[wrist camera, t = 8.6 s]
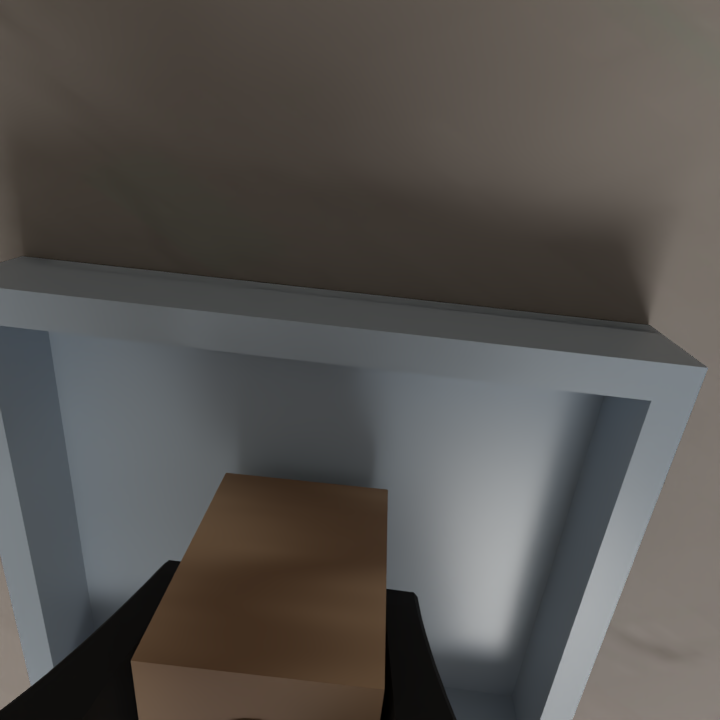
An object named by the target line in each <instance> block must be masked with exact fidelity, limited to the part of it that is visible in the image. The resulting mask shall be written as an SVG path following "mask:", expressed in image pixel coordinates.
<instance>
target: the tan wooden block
mask: <svg viewBox="0 0 720 720" xmlns="http://www.w3.org/2000/svg"><path fill="white" fill-rule="evenodd" d="M387 515H388V490H387V489H377V488H368V487H358V486H349V485H339V484H330V483H320V482H310V481H301V480H291V479H282V478H272V477H263V476H253V475H243V474H234V473H225V475H224V477H223V479H222V481H221V483H220V485H219V487H218V489H217V491H216V493H215V495H214V497H213V499H212V501H211V503H210V505H209V507H208V509H207V511H206V513H205V515H204V517H203V519H202V521H201V523H200V525H199V527H198V529H197V531H196V533H195V535H194V537H193V539H192V541H191V543H190V545H189V547H188V548H187V550H186V552H185V554H184V556H183V558H182V560H181V562H180V564H179V566H178V568H177V570H176V572H175V574H174V576H173V578H172V580H171V582H170V584H169V586H168V588H167V590H166V592H165V594H164V596H163V598H162V600H161V602H160V604H159V606H158V608H157V610H156V612H155V614H154V616H153V618H152V620H151V622H150V624H149V625H148V627H147V629H146V631H145V633H144V635H143V637H142V639H141V641H140V643H139V645H138V647H137V649H136V651H135V653H134V655H133V657H132V659H131V667H132V674H133V682H134V689H135V696H136V704H137V711H138V718H139V720H380V717H381V710H382V703H383V697H384V690H385V634H386V574H387Z"/></svg>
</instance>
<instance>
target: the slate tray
mask: <svg viewBox="0 0 720 720" xmlns="http://www.w3.org/2000/svg"><path fill="white" fill-rule="evenodd" d="M707 370H708V367H706V366H705V365H703V364H702V363H701V362H699V361H698V360H697V359H695V358H694V357H693V356H691V355H690V354H688V353H687V352H686V351H684V350H683V349H682V348H680V347H679V346H678V345H676V344H675V343H673V342H672V341H671V340H669V339H668V338H667V337H665V336H664V335H662V334H661V333H660V332H658V331H657V330H656V329H654V328H653V327H652V326H650V325H644V324H635V323H626V322H617V321H608V320H598V319H589V318H580V317H571V316H562V315H553V314H544V313H535V312H526V311H517V310H507V309H498V308H489V307H480V306H471V305H462V304H453V303H444V302H435V301H425V300H416V299H407V298H398V297H389V296H380V295H371V294H362V293H353V292H344V291H334V290H325V289H316V288H307V287H298V286H289V285H280V284H271V283H262V282H252V281H243V280H234V279H225V278H216V277H207V276H198V275H189V274H180V273H171V272H161V271H152V270H143V269H134V268H125V267H116V266H107V265H98V264H89V263H80V262H70V261H61V260H52V259H43V258H34V257H25V256H21V257H18V258H14V259H11V260H8V261H4V262H1V263H0V556H1V560H2V564H3V569H4V573H5V577H6V581H7V586H8V590H9V594H10V598H11V603H12V607H13V611H14V616H15V620H16V624H17V628H18V633H19V637H20V641H21V645H22V650H23V654H24V658H25V663H26V667H27V671H28V675H29V680H30V684H31V686H32V685H33V684H35V683H36V682H37V681H38V680H40V679H41V678H42V677H43V676H44V675H46V674H47V673H48V672H49V671H50V670H51V669H53V668H54V667H55V666H56V665H57V664H58V663H60V662H61V661H62V660H63V659H64V658H65V657H66V656H68V655H69V654H70V653H71V652H72V651H73V650H75V649H76V648H77V647H78V646H79V645H80V644H82V643H83V642H84V641H85V640H86V639H87V638H88V637H89V636H90V635H91V634H92V633H94V632H95V631H96V630H97V629H98V628H99V627H100V626H101V625H102V624H103V623H104V622H105V621H106V620H107V619H109V618H110V617H111V616H112V615H113V614H114V613H115V612H116V611H117V610H118V609H119V608H120V607H121V606H122V605H123V604H124V603H125V602H126V601H127V600H128V599H129V598H130V597H131V596H133V595H134V594H135V593H136V592H137V591H138V590H139V589H140V588H141V587H142V586H143V585H144V584H145V583H146V582H147V581H148V580H149V579H150V578H151V576H152V575H153V574H154V573H155V572H156V571H157V570H158V569H159V568H160V567H161V566H162V565H163V564H164V563H166V562H167V561H168V560H174V561H181V560H182V558H183V556H184V554H185V552H186V550H187V548H188V547H189V545H190V543H191V541H192V539H193V537H194V535H195V533H196V531H197V529H198V527H199V525H200V523H201V521H202V519H203V517H204V515H205V513H206V511H207V509H208V507H209V505H210V503H211V501H212V499H213V497H214V495H215V493H216V491H217V489H218V487H219V485H220V483H221V481H222V479H223V477H224V475H225V473H234V474H243V475H253V476H263V477H272V478H282V479H291V480H301V481H310V482H320V483H330V484H339V485H349V486H358V487H368V488H377V489H387V490H388V515H387V574H386V589H393V590H401V591H408V592H414V593H415V594H416V596H417V597H418V602H419V607H420V611H421V616H422V620H423V624H424V628H425V631H426V635H427V638H428V641H429V645H430V648H431V651H432V654H433V657H434V660H435V663H436V666H437V669H438V672H439V675H440V677H441V680H442V683H443V686H444V688H445V691H446V694H447V697H448V699H449V702H450V704H451V707H452V709H453V712H454V714H455V717H456V719H457V720H572V719H573V717H574V714H575V711H576V709H577V706H578V704H579V701H580V698H581V696H582V693H583V691H584V688H585V685H586V683H587V680H588V678H589V675H590V673H591V670H592V667H593V665H594V662H595V660H596V657H597V654H598V652H599V649H600V647H601V644H602V641H603V639H604V636H605V634H606V631H607V629H608V626H609V623H610V621H611V618H612V616H613V613H614V610H615V608H616V605H617V603H618V600H619V597H620V595H621V592H622V590H623V587H624V585H625V582H626V579H627V577H628V574H629V572H630V569H631V566H632V564H633V561H634V559H635V556H636V553H637V551H638V548H639V546H640V543H641V541H642V538H643V535H644V533H645V530H646V528H647V525H648V522H649V520H650V517H651V515H652V512H653V509H654V507H655V504H656V502H657V499H658V496H659V494H660V491H661V489H662V486H663V484H664V481H665V478H666V476H667V473H668V471H669V468H670V465H671V463H672V460H673V458H674V455H675V452H676V450H677V447H678V445H679V442H680V440H681V437H682V434H683V432H684V429H685V427H686V424H687V421H688V419H689V416H690V414H691V411H692V408H693V406H694V403H695V401H696V398H697V396H698V393H699V390H700V388H701V385H702V383H703V380H704V377H705V375H706V372H707Z"/></svg>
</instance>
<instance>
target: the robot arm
mask: <svg viewBox="0 0 720 720" xmlns="http://www.w3.org/2000/svg"><path fill="white" fill-rule="evenodd" d="M180 562H181V561H174V560H168V561H167V562H166V563H164V564H163V565H162V566H161V567H160V568H159V569H158V570H157V571H156V572H155V573H154V574H153V575H152V576H151V578H150V579H149V580H148V581H147V582H146V583H145V584H144V585H143V586H142V587H141V588H140V589H139V590H138V591H137V592H136V593H135V594H134V595H133V596H131V597H130V598H129V599H128V600H127V601H126V602H125V603H124V604H123V605H122V606H121V607H120V608H119V609H118V610H117V611H116V612H115V613H114V614H113V615H112V616H111V617H110V618H109V619H107V620H106V621H105V622H104V623H103V624H102V625H101V626H100V627H99V628H98V629H97V630H96V631H95V632H94V633H92V634H91V635H90V636H89V637H88V638H87V639H86V640H85V641H84V642H83V643H82V644H80V645H79V646H78V647H77V648H76V649H75V650H73V651H72V652H71V653H70V654H69V655H68V656H66V657H65V658H64V659H63V660H62V661H61V662H60V663H58V664H57V665H56V666H55V667H54V668H53V669H51V670H50V671H49V672H48V673H47V674H46V675H44V676H43V677H42V678H41V679H40V680H38V681H37V682H36V683H35V684H33V685H32V686H31V687H30V688H28V689H27V690H26V691H25V692H23V693H22V694H21V695H20V696H18V697H17V698H16V699H15V700H13V701H12V702H11V703H9V704H8V705H7V706H5V707H4V708H3V709H1V710H0V720H139V718H138V711H137V704H136V696H135V689H134V682H133V674H132V667H131V659H132V657H133V655H134V653H135V651H136V649H137V647H138V645H139V643H140V641H141V639H142V637H143V635H144V633H145V631H146V629H147V627H148V625H149V624H150V622H151V620H152V618H153V616H154V614H155V612H156V610H157V608H158V606H159V604H160V602H161V600H162V598H163V596H164V594H165V592H166V590H167V588H168V586H169V584H170V582H171V580H172V578H173V576H174V574H175V572H176V570H177V568H178V566H179V564H180ZM380 720H457V719H456V717H455V714H454V712H453V709H452V707H451V704H450V702H449V699H448V697H447V694H446V691H445V688H444V686H443V683H442V680H441V677H440V675H439V672H438V669H437V666H436V663H435V660H434V657H433V654H432V651H431V648H430V645H429V641H428V638H427V635H426V631H425V628H424V624H423V620H422V616H421V611H420V607H419V602H418V597H417V596H416V594H415V593H414V592H408V591H401V590H393V589H386V634H385V690H384V697H383V703H382V710H381V717H380Z"/></svg>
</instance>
